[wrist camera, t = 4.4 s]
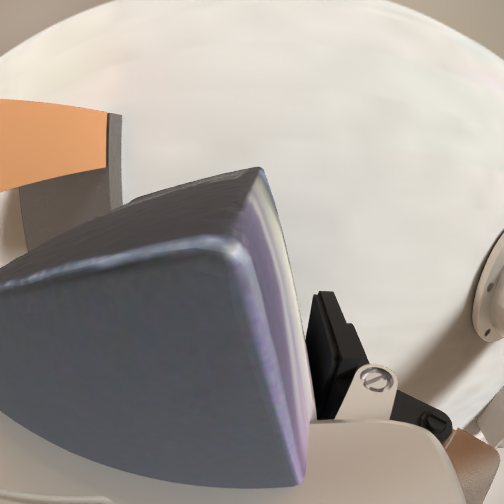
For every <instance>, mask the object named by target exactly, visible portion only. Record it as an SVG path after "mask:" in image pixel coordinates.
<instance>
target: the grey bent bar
mask: <svg viewBox="0 0 504 504" xmlns="http://www.w3.org/2000/svg"><path fill="white" fill-rule="evenodd" d="M121 126H122V115H118V114H113V113H107V126H106V167H105V168H99V169H94V170H88V171H83V172H78V173H73V174H68V175H64V176H59V177H55V178H51V179H47V180H42V181H38V182H35V183H31V184H27V185H23V186H20V187H19V192H20V202H21V211H22V219H23V226H24V232H25V238H26V244H27V249H28V252H29V251H30V250H32V249H34V248H36V247H38V246H40V245H41V244H43V243H45V242H47V241H49V240H51V239H52V238H55V237H57V236H59V235H61V234H63V233H65V232H67V231H69V230H71V229H73V228H75V227H77V226H79V225H81V224H83V223H85V222H87V221H90V220H92V219H94V218H96V217H98V216H101V215H103V214H105V213H107V212H109V211H111V210H114V209H116V208H119V207H121V206H122V186H121Z"/></svg>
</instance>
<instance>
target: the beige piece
mask: <svg viewBox="0 0 504 504" xmlns="http://www.w3.org/2000/svg"><path fill="white" fill-rule="evenodd" d="M477 424H478V426H479V427H480V429H481V431H482V433H483V435H484V436H485V438H486V440H487V442H488V443H489V445H490V446H492V447H493V448H495V449H497V448H503V447H504V386H503V387H502V388H501V389H500V391H499V392H498V393H497V394H496V395H495V397H494V398H493V399H492V400H491V402H490V403H489V404H488V406H487V407H486V408H485V410H484V411H483V413H482V414H481V415H480V417H479V418H478V420H477Z"/></svg>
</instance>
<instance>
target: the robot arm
mask: <svg viewBox="0 0 504 504" xmlns="http://www.w3.org/2000/svg"><path fill="white" fill-rule="evenodd" d="M472 320H473V326H474V329H475V331H476V333H477V334H478V335H479V336H480V337H481V338H482V339H483V340H485V341H487V342H494V341H498V340H500V339H502V338H504V233H503V234H502V235H501V237H500V239H499V240H498V242H497V243H496V245H495V246H494V248H493V250H492V252H491V254H490V256H489V258H488V260H487V262H486V265H485V267H484V269H483V272H482V274H481V277H480V280H479V283H478V286H477V290H476V294H475V298H474V304H473V315H472ZM305 342H306V347H307V353H308V359H309V366H310V372H311V379H312V385H313V392H314V399H315V407H316V414H317V420H311V421H310V423H309V436H308V451H307V464H306V473H305V477H304V480H303V482H302V483H301V484H299V485H296V486H293V487H283V488H262V489H236V488H217V487H204V486H195V485H187V484H179V483H173V482H167V481H162V480H157V479H153V478H148V477H144V476H140V475H136V474H132V473H128V472H125V471H121V470H118V469H114V468H111V467H108V466H105V465H102V464H99V463H97V462H94V461H91V460H89V459H86V458H83V457H81V456H79V455H76V454H74V453H71V452H69V451H67V450H65V449H63V448H61V447H59V446H57V445H55V444H53V443H51V442H49V441H47V440H45V439H43V438H42V437H40V436H38V435H36V434H35V433H33V432H31V431H29V430H28V429H26V428H25V427H23V426H21V425H20V424H18V423H17V422H15V421H14V420H12V419H11V418H9V417H8V416H7V415H5V414H4V413H2V412H1V411H0V504H482V503H483V501H484V499H485V496H486V495H487V493H488V490H489V488H490V486H491V484H492V482H493V479H494V477H495V475H496V472H497V470H498V467H499V463H500V456H499V453H498V452H497V450H496V449H495V448H493V447H492V446H490V445H488V444H486V443H485V442H483V441H481V440H479V439H477V438H476V437H474V436H472V435H470V434H469V433H467V432H465V431H463V430H462V429H460V428H458V429H457V430H454V429H452V428H453V427H452V422H451V420H450V418H449V417H448V416H447V415H446V414H445V413H444V412H442V411H440V410H438V409H436V408H434V407H432V406H430V405H428V404H425V403H423V402H421V401H419V400H417V399H415V398H413V397H411V396H409V395H407V394H405V393H403V392H401V391H399V390H397V387H398V379H397V377H396V375H395V374H394V372H393V371H392V370H390V369H389V368H387V367H385V366H382V365H378V364H369V361H368V359H367V356H366V354H365V351H364V349H363V347H362V344H361V342H360V339H359V337H358V335H357V332H356V330H355V328H354V326H353V324H351V323H346V321H345V318H344V316H343V313H342V311H341V308H340V306H339V304H338V301H337V299H336V297H335V294H334V292H330V291H319V293H318V295H313V300H312V306H311V312H310V318H309V323H308V329H307V334H306V340H305Z"/></svg>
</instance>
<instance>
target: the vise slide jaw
mask: <svg viewBox="0 0 504 504" xmlns="http://www.w3.org/2000/svg"><path fill="white" fill-rule="evenodd" d="M106 126H107V112H103V111H98V110H92V109H86V108H80V107H74V106H67V105H60V104H52V103H43V102H34V101H22V100H7V99H0V192H3V191H6V190H9V189H13V188H16V187H20V186H23V185H27V184H31V183H35V182H38V181H42V180H47V179H51V178H55V177H59V176H64V175H68V174H73V173H78V172H83V171H88V170H94V169H99V168H105V167H106Z"/></svg>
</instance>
